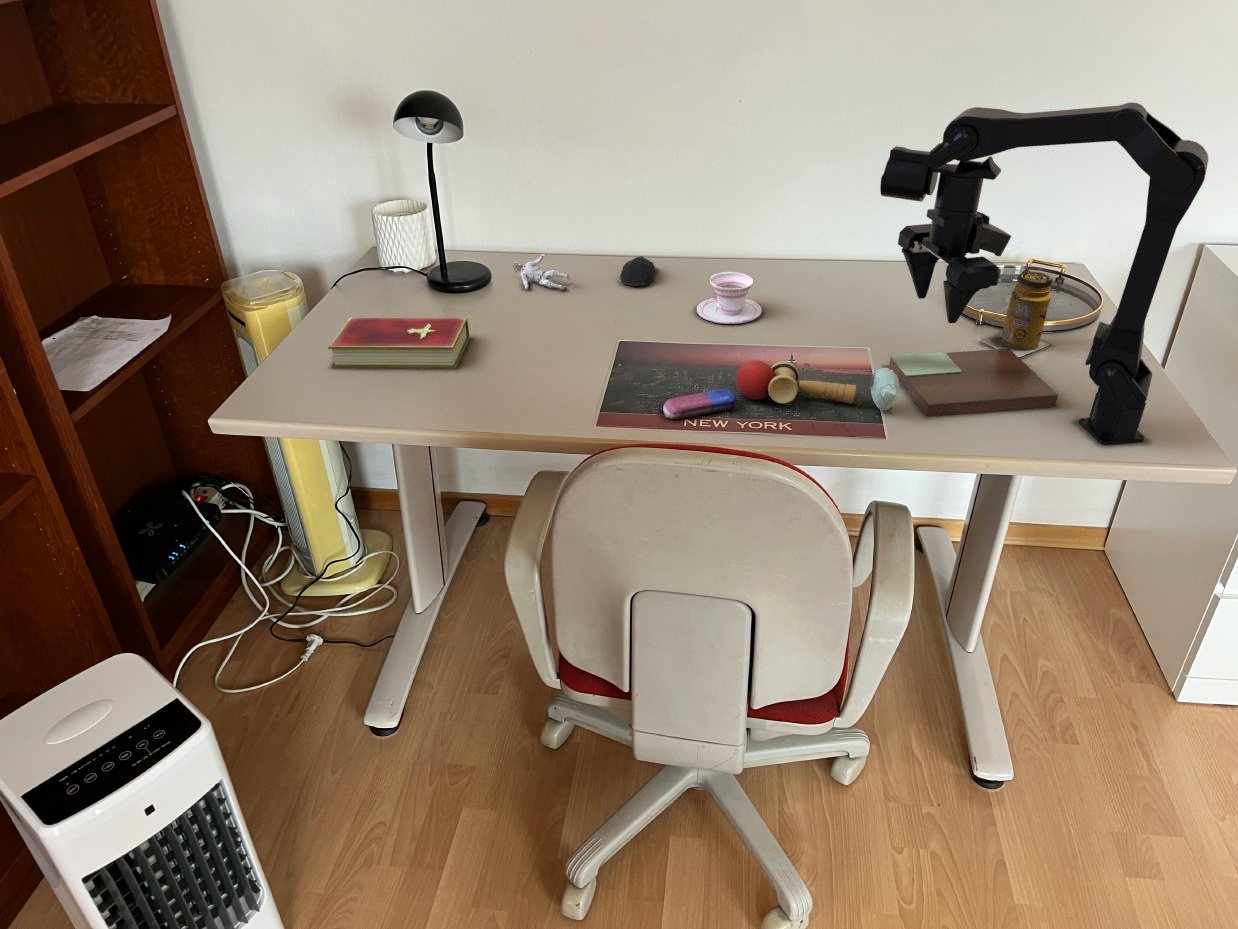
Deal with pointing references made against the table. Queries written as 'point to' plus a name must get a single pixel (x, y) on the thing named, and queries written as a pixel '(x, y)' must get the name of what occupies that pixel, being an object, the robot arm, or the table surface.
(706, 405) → the eraser
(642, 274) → the gaming mouse
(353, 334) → the hardcover book
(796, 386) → the kendama
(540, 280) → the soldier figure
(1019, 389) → the walnut board
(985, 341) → the condiment
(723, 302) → the teacup
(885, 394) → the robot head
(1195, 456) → the table surface
